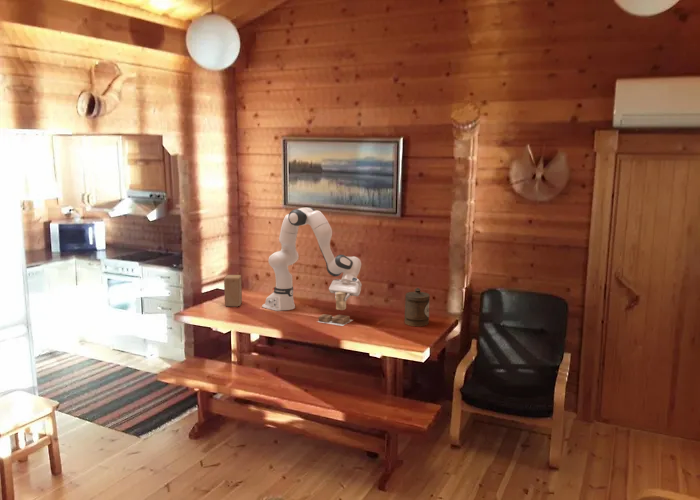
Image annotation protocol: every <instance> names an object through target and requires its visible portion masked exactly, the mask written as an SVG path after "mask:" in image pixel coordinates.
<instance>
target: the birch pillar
mask: <svg viewBox="0 0 700 500" xmlns="http://www.w3.org/2000/svg"><path fill="white" fill-rule="evenodd" d="M335 296H336V299H335V310H338V311H339V310H340V311H344V310H346V309H347V301H344V300H343V299H344V297H346V296H347V295H346V293H344V292H338V293H336V295H335Z"/></svg>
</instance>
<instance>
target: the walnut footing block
mask: <svg viewBox="0 0 700 500" xmlns="http://www.w3.org/2000/svg"><path fill="white" fill-rule="evenodd" d="M332 317H333V315H331V314H326V313H323V314H320V315H319V316H318V321H321V322H329V321H331V320H332ZM321 322H320V323H321Z"/></svg>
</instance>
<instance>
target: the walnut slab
mask: <svg viewBox="0 0 700 500" xmlns="http://www.w3.org/2000/svg"><path fill="white" fill-rule="evenodd" d="M350 317H351V316H350V315H345V314H344V315H343V314H337V315H334V316H332V323H338V324H345V323H347V322H349V321H350V320H351V318H350ZM349 323H350V322H349ZM347 324H348V323H347ZM345 325H346V324H345Z"/></svg>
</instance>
